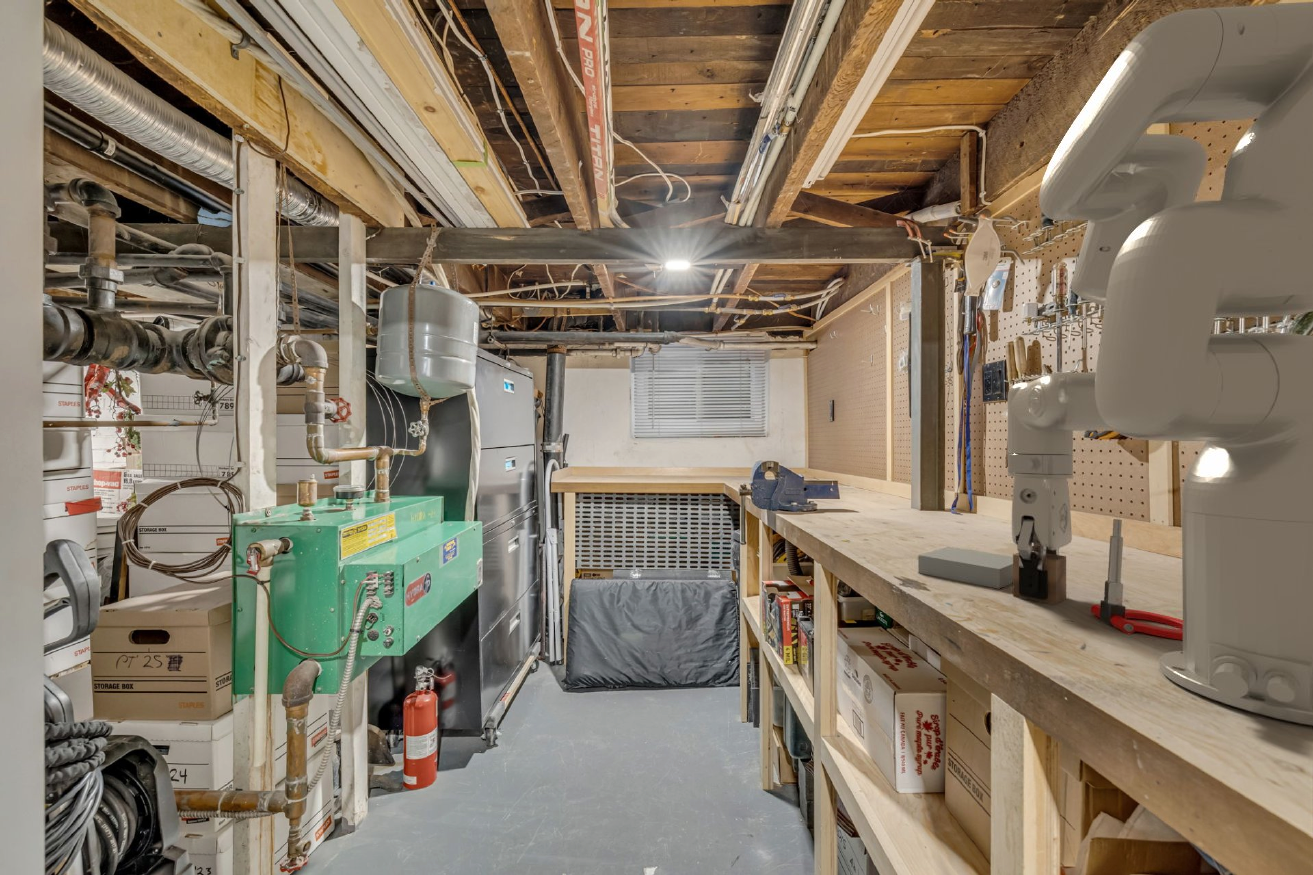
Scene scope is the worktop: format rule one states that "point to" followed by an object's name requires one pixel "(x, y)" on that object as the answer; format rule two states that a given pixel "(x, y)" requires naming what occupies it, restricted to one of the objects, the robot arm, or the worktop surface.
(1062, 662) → the worktop surface
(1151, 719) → the worktop surface
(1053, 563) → the walnut block
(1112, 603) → the red and grey piece
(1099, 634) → the worktop surface
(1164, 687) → the worktop surface
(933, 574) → the base slab
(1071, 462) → the robot arm
